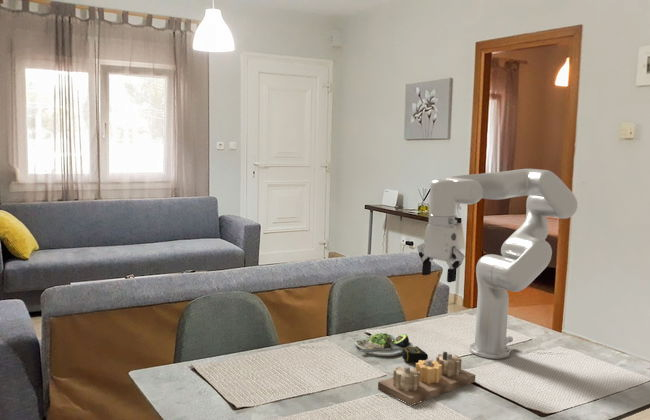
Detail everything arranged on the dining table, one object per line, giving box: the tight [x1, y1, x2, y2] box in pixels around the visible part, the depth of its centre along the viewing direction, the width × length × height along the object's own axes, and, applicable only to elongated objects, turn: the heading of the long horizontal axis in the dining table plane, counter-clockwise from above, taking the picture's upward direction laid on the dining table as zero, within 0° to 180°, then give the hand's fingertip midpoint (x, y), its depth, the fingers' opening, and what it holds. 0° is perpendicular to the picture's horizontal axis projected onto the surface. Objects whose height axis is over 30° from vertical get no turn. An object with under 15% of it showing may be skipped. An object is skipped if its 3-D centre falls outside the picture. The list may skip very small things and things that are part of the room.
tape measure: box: [401, 345, 429, 364], centre depth 177 cm, size 7×7×4 cm
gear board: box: [377, 351, 476, 406], centre depth 159 cm, size 26×12×8 cm, turn 128°
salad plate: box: [354, 332, 414, 357], centre depth 187 cm, size 19×18×5 cm
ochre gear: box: [415, 360, 442, 384], centre depth 159 cm, size 7×7×4 cm
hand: (438, 278), depth 173 cm, fingers open, 9 cm apart
